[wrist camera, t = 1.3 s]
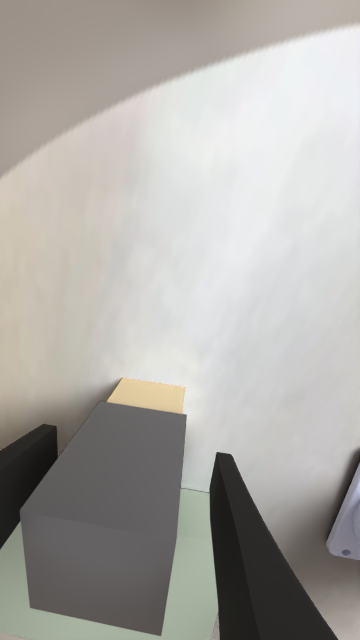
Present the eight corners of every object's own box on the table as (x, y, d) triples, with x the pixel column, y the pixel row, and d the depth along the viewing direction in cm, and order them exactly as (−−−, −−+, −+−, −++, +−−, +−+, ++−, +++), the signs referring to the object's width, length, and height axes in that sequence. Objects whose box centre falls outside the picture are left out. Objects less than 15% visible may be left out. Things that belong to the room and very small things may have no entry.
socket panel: (228, 496, 14) (237, 564, 11) (200, 618, 17) (200, 697, 14) (6, 457, 14) (-46, 509, 11) (21, 581, 18) (-17, 648, 15)
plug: (189, 384, 12) (176, 540, 5) (180, 442, 13) (161, 636, 6) (119, 373, 12) (19, 510, 5) (116, 432, 13) (29, 607, 6)
